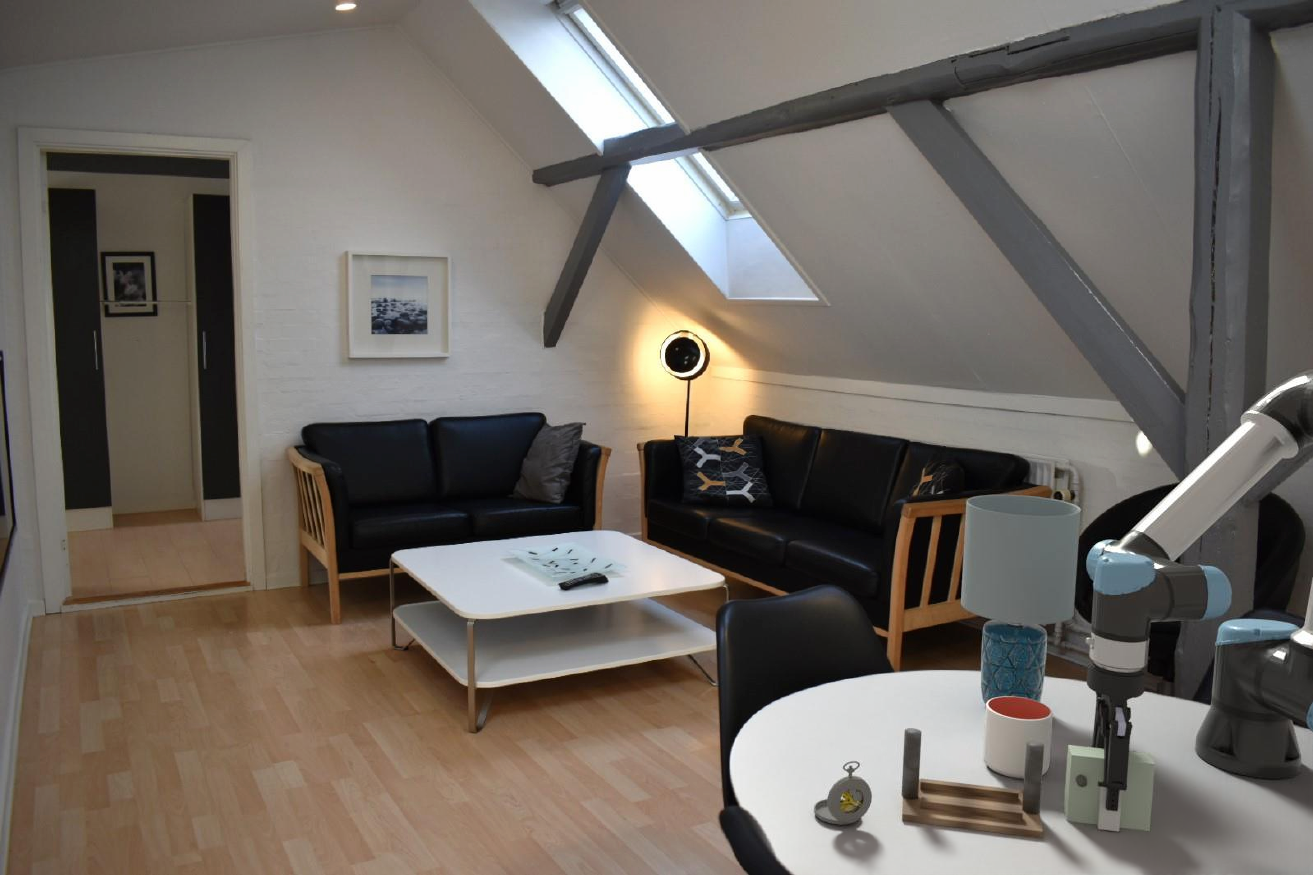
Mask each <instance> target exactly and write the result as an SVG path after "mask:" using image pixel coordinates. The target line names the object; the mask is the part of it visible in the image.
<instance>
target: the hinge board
mask: <svg viewBox="0 0 1313 875" xmlns="http://www.w3.org/2000/svg"><path fill="white" fill-rule="evenodd" d="M903 736H904V738H903V739H904V740H903V756H902V757H903V758H902V776H901V777H902V780H901V782H902V783H901V796H902V807H901V809H902V815H901V816H902V817H901V821H902V822H909V823H910V822H911V823H917V824H918V823H919V824H928V825H934V826H942V827H951V828H958V829H965V830H974V831H975V830H976V831H982V832H991V833H998V834H1006V835H1012V836H1013V835H1015V836H1022V837H1031V838H1037V839H1043V836H1044V834H1043V833H1044V831H1043V826H1042V822H1041V817H1040V811H1041V798H1042V797H1041V796H1042V795H1041V794H1042V783H1043V782H1042V780H1043V775H1042V769H1043V754H1044V745H1043V744H1042V743H1040V742H1037V741H1028V742H1027V743H1026V756H1025V771H1024V779H1023V788H1022V790H1023V791H1022V790H1018V789H1013V788H1007V787H1006V788H1005V787H998V786H989V785H979V784H973V783H972V784H971V783H964V782H963V783H962V782H954V781H946V780H938V779H937V780H935V779H928V778H920V767H921V766H920V765H921V751H922V750H921V746H922V730H920V729H918V728H913V727H910V728H905V729H904V735H903Z"/></svg>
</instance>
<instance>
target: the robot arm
mask: <svg viewBox="0 0 1313 875" xmlns="http://www.w3.org/2000/svg"><path fill="white" fill-rule="evenodd" d="M1311 445H1313V368H1312V369H1311V368H1310V369H1308V370H1306V371H1302V372H1299V373H1298V374H1296V375H1294V376H1292V377H1290V378H1288V379H1287V380H1285V381H1284V382H1282V383H1280V384H1278V385H1277V386H1275V387H1274V388H1272V389H1271V390H1270V391H1268V392H1267V393H1265V394H1264V395H1262V397H1260V398H1259V399H1258V400H1257V401H1256V402H1255V403H1253V404H1252V406H1250V407H1249V408H1248V409H1247V410H1246V411H1245V412H1244V413H1242V415H1241V416H1240V426H1239V427H1238V428H1237V429H1235V430H1234V431H1233V433H1231V434H1230V435H1229V436H1228V437H1227V438H1226V439H1225V440H1224V441H1223V442H1222V443H1221V444H1220V445H1218V447H1217V448H1216V449H1215V450H1214V451H1212V453H1210V455H1208V456H1207V457H1206V458H1204V460H1203V461H1202V462H1201V463H1200V464H1199V465H1198V466H1196V467H1195V468H1194V470H1193V471H1191V472H1190V473H1189V474H1188V475H1187V476H1186V477H1185V478H1184V479H1183V480H1182V481H1181V482H1180V483H1179V484H1178V485H1177V486H1176V487H1175V488H1174V489H1172V490H1171V491H1170V492H1169V493H1168V494H1167V495H1166V496H1165V497H1164V498H1162V500H1161V501H1160V502H1158V504H1157V505H1155V507H1153V508H1152V510H1150V511H1148V512H1149V513H1147V514H1146V515H1145V516H1144V517H1143V518H1142V519H1140V521H1138V523H1137V524H1135V526H1134V527H1133V528H1132V529H1130V531H1128V532H1127V533H1126V534H1125V535H1124V536H1123V537H1122V538H1121V539H1120V540H1117V539H1105V540H1102V541H1099V542H1097V543H1095V545H1093V546H1092V548H1091V549H1090V550H1089V552H1088V554H1087V558H1086V572H1087V573H1088V576H1089V578H1090V579H1091V580H1092V581H1093V583H1092V586H1093V587H1092V588H1093V592H1092V593H1093V594H1092V596H1093V597H1092V609H1091V611H1092V612H1091V628H1090V630H1091V631H1090V635H1091V637H1086V638H1085V643H1086V645H1089V653H1088V656H1089V658H1090V659H1089V661H1088V662H1087V673H1086V685H1087V686H1088V688H1089V689H1090V690H1092V692H1095V694H1096V695H1095V696H1096V698H1095V712H1094V713H1095V714H1094V722H1093V723H1094V725H1093V734H1092V743H1091V744H1092V745H1091V747H1092V748H1101V749H1104V780H1103V782H1099V781H1098V786H1099V787H1101V791H1100V803H1099V816H1098V825H1097V828H1098V830H1104V831H1112V832H1120V827H1119V826H1120V814H1121V802H1122V790H1124V791H1126V790H1127V774H1128V760H1129V751H1130V744H1131V735H1132V730H1133V723H1132V721H1131V718H1132V708H1131V707H1130V706H1128V701H1129V700H1130V699H1136V698H1140V697H1141V696H1142V695H1144V693H1145V687H1146V674H1147V671H1146V669H1145V667H1146V666H1147V665H1148V657H1149V656H1148V655H1149V643H1150V631H1151V625H1152V624H1151V623H1158V622H1159V623H1160V622H1161V623H1162V622H1177V621H1178V622H1179V621H1181V622H1182V621H1198V622H1199V621H1200V622H1201V621H1203V620H1210V619H1216V618H1219V617H1222V616H1223V615H1225V614H1226V613H1227V612H1228V610H1229V608H1230V607H1231V604H1232V595H1233V591H1232V586H1231V583H1230V580H1229V578H1228V577H1227V575H1226V574H1225V573H1224V572H1223V571H1222V570H1221V569H1219V568H1218V567H1215V566H1211V565H1202V564H1196V565H1191V566H1190V565H1185V564H1181V563H1178V562H1175V561H1176V560H1177V559H1178V558H1179V557H1180V556H1181V555H1182V554H1184V552H1185V551H1186V550H1187V549H1188V548H1189V547H1190V546H1191V545H1192V544H1193V543H1195V542H1196V541H1197V539H1199V538H1200V537H1201V536H1202V535H1203V534H1204V533H1205V532H1206V531H1207V530H1208V529H1209V528H1210V527H1211V526H1212V525H1213V524H1215V523H1216V522H1217V521H1218V519H1220V518H1221V517H1222V516H1223V515H1224V514H1225V513H1227V511H1228V510H1229V509H1230V508H1232V506H1234V504H1235V503H1237V502H1238V501H1239V500H1240V499H1241V498H1243V496H1244V495H1245V494H1246V493H1247V492H1249V491H1250V489H1251V488H1252V487H1253V486H1255V485H1256V483H1258V482H1259V481H1260V480H1261V479H1262V478H1263V477H1264V476H1265V475H1266V474H1267V473H1268V472H1269V471H1271V470H1272V468H1273V467H1274V466H1276V465H1277V464H1278V463H1279V462H1280V461H1281V460H1282V459H1292V458H1294V457H1295V456H1297V455H1298V454H1299V453H1300V452H1301V450H1304V448H1306V447H1308V446H1311ZM1307 602H1308V603H1307V608H1306V613H1305V614H1306V615H1305V621H1304V625H1303V627H1301V628H1300V627H1299V626H1298V625H1296V624H1293V623H1290V622H1286V621H1280V620H1279V621H1278V620H1272V619H1258V618H1257V619H1256V618H1239V619H1238V618H1237V619H1235V618H1234V619H1231V620H1230V619H1229V620H1226V621H1224V622H1222V623H1221V624H1220V625H1219V627H1218V630H1217V636H1216V641H1215V643H1214V659H1213V660H1214V661H1213V675H1212V688H1211V702H1210V707H1209V709H1208V711H1207V713H1206V715H1205V717H1204V719H1203V720H1202V723H1201V725H1200V727H1199V728H1198V729H1199V730H1197V734H1196V736H1195V744H1194V750H1195V752H1196V754H1197V756H1199V757H1200V758H1201V759H1202V760H1204V761H1205V762H1207V763H1209V764H1211V765H1213V766H1214V767H1217V768H1220V769H1222V770H1224V771H1227V772H1230V773H1234V774H1238V775H1242V776H1247V777H1252V778H1257V779H1258V778H1259V779H1270V780H1271V779H1272V780H1274V779H1276V780H1280V779H1286V778H1291V777H1295V776H1297V775H1298V774H1299V773H1300V772H1301V767H1302V753H1301V749H1300V745H1299V741H1298V739H1297V734H1296V730H1295V726H1294V723H1296V724H1299V725H1300V726H1303V727H1304V728H1306V729H1308V730H1310V731H1311V732H1312V733H1313V578H1312V579H1311V585H1310V592H1309V596H1308V601H1307ZM1293 722H1294V723H1293Z"/></svg>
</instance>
